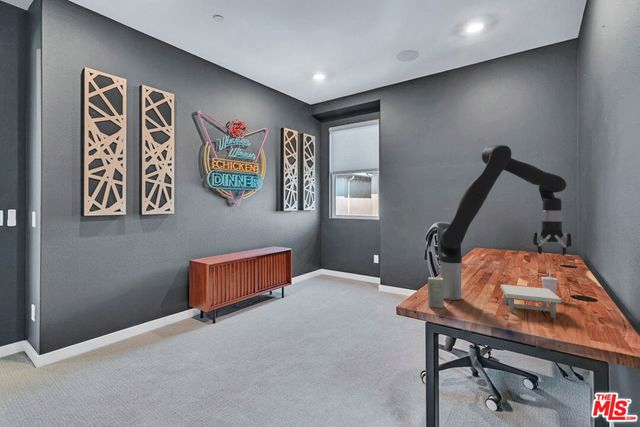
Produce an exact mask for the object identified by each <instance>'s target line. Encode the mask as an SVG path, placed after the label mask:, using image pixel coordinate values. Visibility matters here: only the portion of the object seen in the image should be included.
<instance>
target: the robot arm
mask: <svg viewBox="0 0 640 427" xmlns="http://www.w3.org/2000/svg"><path fill="white" fill-rule="evenodd" d="M512 155H513V154H512V150H511V148H510V147H509V146H508V145H504V144H503V145H502V144H499V145H498V144H496V145H489V146H488V147H485V148H484V149H483V150H482V153H481V160H482V162H483V163H484V164H486V165H485V167H484V169H483V170H482V172H481V173H480V175H478V177H476V178H475V179H474V180H473V181H472V182H470V184H469V185H468V186H467V188H466V189H465V191H464V193H463V195H462V196H461V199H460V200H459V203H458V207H457V210H456V212H455V215H454V218H453V219H452V221H451V223H450V224H449V225H448V227H447V228H445V229H443V230H442V232H441V233H440V235H439V236H440V238H439V239H440V240H439V241H440V242H439V244H440V248H439V250H440V251H439V252H440V271H439V272H440V275H439V276H440V277H439V278H443V288H444V299H445V300H451V301H457V300H461V299H462V272H463V271H462V268H463V266H462V265H463V264H462V262H463V260H462V259H463V258H462V244H463V241H464V239H465V236H466V234H467V232H468V229H469V228H470V225H471V223H472V222H473V220H474V219H475V217H476V216H477V214H479V212H480V210H481V209H482V207H483V205H484V203H485V201H486V199H487V198H488V196H489V194H490V192H491V190H492V188H493V187H494V185H495V183H496V181H497V179H498V178H499V177H500V175H501V174H502V172H503V171H506V172H508V173H510V174H511V175H514V176H516V177H518V178H520V179H521V180H524V181H526V182H528V183H529V184H532V185H534V186H538V191H539V195H540V198H541V201H542V213H541V232H537V231H534V232H533V233H532V234H533V236H532V244H533V245H534V246H536V250H537V253H538V255H542V254H543V249H542V248H543V246H542V245H544V244H545V243H546V242H548V243H557V242H558V243H559V244H560V245H561V250H560V254H561V255H560V256H565V255H566V254H567V248H568V247H569V248H570V247H572V236H571V235H572V234H571V233H569V232H564V233H563V213H562V199H561V198H560V197H555V194H554V193H560V192H563V191H564V190H566V188H567V182H566V180H565V179H564V178H563V177H561V176H559V175H557V174H554V173H550V172H548V171H547V172H546V171H544V170H542V169H540V168H538V167H537V166H534V165H532V164H529V163H526V162H523V161H520V160H517V159H514V158H513V157H512ZM540 236H541V237H542V238H541V239H540V240H539V241H538V237H540ZM563 237H564V238H565V240H566V243H564V241H563V240H562V238H563Z"/></svg>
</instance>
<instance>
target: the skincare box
mask: <svg viewBox="0 0 640 427" xmlns="http://www.w3.org/2000/svg"><path fill="white" fill-rule="evenodd" d="M444 303H445V302H444V288H443V278H440V277H431V276H428V278H427V304H428V307H431V308H439V309H440V308H441V309H444V306H445V304H444Z"/></svg>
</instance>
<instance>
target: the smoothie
mask: <svg viewBox="0 0 640 427" xmlns="http://www.w3.org/2000/svg"><path fill="white" fill-rule="evenodd" d="M551 273H552V269H550V268H549V272H548V274H549V276H541V279H540V280H541V283H542V288H545V289H550V290H551V291H552V292H553V293H554V294H556V290H557V286H558V282H559V279H558V278H555V277H552V276H551V275H552V274H551Z"/></svg>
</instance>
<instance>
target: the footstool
mask: <svg viewBox="0 0 640 427" xmlns="http://www.w3.org/2000/svg"><path fill="white" fill-rule="evenodd" d="M500 289H501V291H502V292H503V304H504V305H508V312H509V313H510V314H514V313H515V308H518V309H527V310H528V309H529V310H534V311H535V310H536V311H544V312H549V317H550V318H551V319H556V318H557V315H556V314H557V304H562V298H561V297H559V296H558V295H557V294H556V293H555V294H554V293H553V292H552V291H551V290H550V289H545V288H543V287H534V286H533V287H532V286H522V285H521V286H520V285H510V284H500ZM516 300H517V301H522V302H523V301H526V302H534V303H541V306H539V305H529V304H522V303H515V301H516ZM548 302H549V305H550V306H549V307H548Z"/></svg>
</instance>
